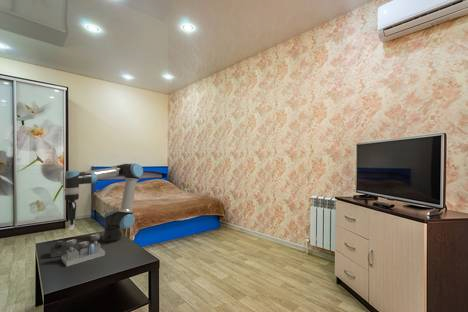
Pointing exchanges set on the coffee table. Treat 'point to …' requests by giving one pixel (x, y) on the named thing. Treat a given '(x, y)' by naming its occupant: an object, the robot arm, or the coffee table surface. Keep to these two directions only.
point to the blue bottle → (91, 248)
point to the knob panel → (82, 255)
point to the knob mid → (84, 244)
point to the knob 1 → (71, 243)
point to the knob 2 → (95, 238)
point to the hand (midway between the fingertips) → (71, 229)
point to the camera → (59, 249)
